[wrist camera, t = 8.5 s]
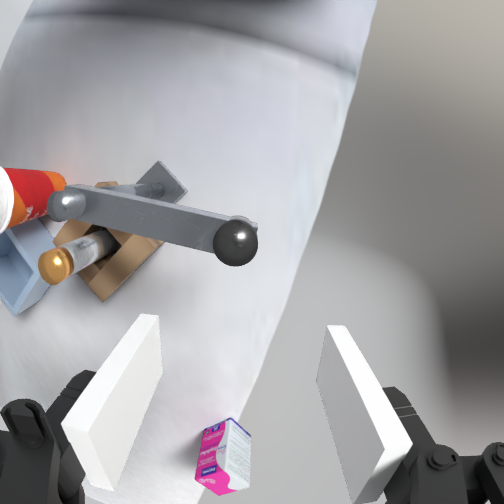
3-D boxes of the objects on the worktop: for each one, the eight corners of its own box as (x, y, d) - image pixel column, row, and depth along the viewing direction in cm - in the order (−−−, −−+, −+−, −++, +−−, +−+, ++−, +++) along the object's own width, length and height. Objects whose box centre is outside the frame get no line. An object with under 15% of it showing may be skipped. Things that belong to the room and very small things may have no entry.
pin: (115, 220, 37) (47, 244, 22) (130, 237, 37) (68, 270, 22) (101, 235, 37) (33, 266, 22) (116, 252, 37) (52, 291, 23)
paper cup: (35, 220, 36) (-31, 239, 23) (33, 168, 35) (-35, 170, 21) (75, 217, 36) (8, 237, 23) (73, 161, 35) (5, 158, 21)
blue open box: (31, 208, 36) (1, 215, 29) (69, 259, 38) (41, 273, 31) (5, 252, 37) (-22, 263, 31) (40, 299, 39) (14, 316, 32)
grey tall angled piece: (146, 199, 34) (43, 223, 15) (150, 179, 34) (48, 183, 15) (251, 223, 35) (252, 275, 16) (256, 202, 35) (263, 230, 15)
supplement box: (230, 415, 44) (225, 470, 32) (251, 435, 45) (252, 488, 34) (202, 428, 44) (193, 480, 33) (224, 446, 45) (220, 497, 34)
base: (161, 161, 35) (158, 160, 34) (187, 191, 36) (185, 191, 35) (133, 189, 36) (129, 190, 34) (158, 219, 37) (156, 220, 35)
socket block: (115, 181, 35) (98, 182, 31) (166, 239, 37) (154, 248, 32) (72, 234, 37) (52, 241, 32) (118, 288, 39) (102, 302, 34)
